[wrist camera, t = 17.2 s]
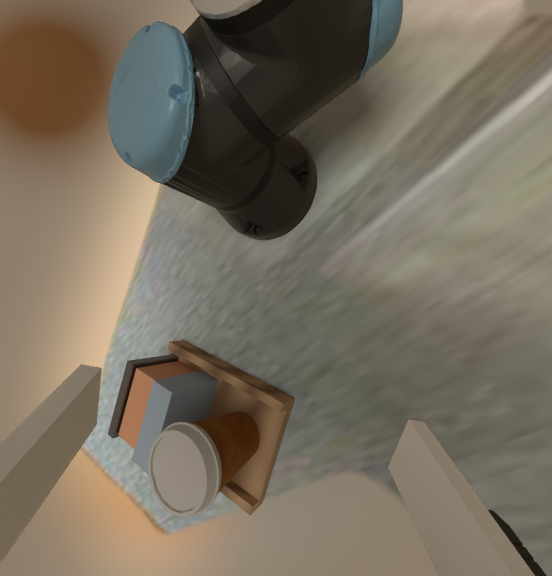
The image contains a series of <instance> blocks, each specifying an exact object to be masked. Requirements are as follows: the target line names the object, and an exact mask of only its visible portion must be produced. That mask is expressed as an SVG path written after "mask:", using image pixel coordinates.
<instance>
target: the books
mask: <svg viewBox="0 0 552 576" xmlns="http://www.w3.org/2000/svg"><path fill="white" fill-rule="evenodd" d="M218 381H219V379H217V378H215V377H213V376H212V375H210V374H208V373H206V372H205V371H203V370H200V371H197V370H195V369H193V368H191V367H190V366H188V365H186V364H184V363H183V362H181V361H176V362H170V363H164V364H158V365H152V366H146V367H140V368H136V371H135V375H134V379H133V382H132V386H131V390H130V394H129V397H128V401H127V405H126V408H125V412H124V416H123V419H122V423H121V427H120V431H119V434H118V435H119V436H120V437H121V438H122V439H124V440H125V441H126V442H127V443H128V444H129V445H131V446H132V447H133V448H134V449H135V451H134V455H133V458H132V460H133V461H134V462H135V463H136V464H137V465H138V466H140V467H141V468H142V469H143V470H144V471H145V472H146V473H147V474H149V472H148V459H149V453H150V450H151V447H152V445H153V443H154V441H155V440H156V438H157V437H158V436H159V435H161V433H162V432H163V431H164V430H165V429H166V428H167V427H168V426H169V425H171V424H173V423H177V422H188V423H191V422H195V421H199V420H203V419H207V418H208V416H209V412H210V409H211V405H212V402H213V398H214V395H215V392H216V388H217V385H218Z"/></svg>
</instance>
